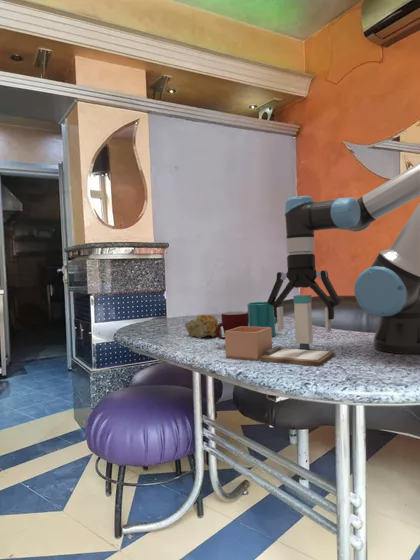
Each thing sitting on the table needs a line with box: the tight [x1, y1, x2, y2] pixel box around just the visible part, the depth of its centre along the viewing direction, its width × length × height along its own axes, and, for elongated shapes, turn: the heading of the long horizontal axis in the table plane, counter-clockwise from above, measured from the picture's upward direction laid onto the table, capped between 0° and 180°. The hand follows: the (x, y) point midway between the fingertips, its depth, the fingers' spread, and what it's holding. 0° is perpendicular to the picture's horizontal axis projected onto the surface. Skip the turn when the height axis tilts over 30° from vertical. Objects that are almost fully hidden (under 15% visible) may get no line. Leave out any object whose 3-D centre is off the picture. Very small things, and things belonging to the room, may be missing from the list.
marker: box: [293, 294, 314, 350], centre depth 113 cm, size 4×4×15 cm
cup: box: [246, 301, 277, 338], centre depth 139 cm, size 9×12×11 cm
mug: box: [216, 310, 249, 341], centre depth 122 cm, size 11×8×10 cm
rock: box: [184, 314, 223, 339], centre depth 143 cm, size 12×9×10 cm
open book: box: [259, 345, 335, 367], centre depth 103 cm, size 15×12×2 cm
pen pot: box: [224, 326, 273, 361], centre depth 109 cm, size 9×9×7 cm
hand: (303, 330), depth 113 cm, fingers open, 13 cm apart
